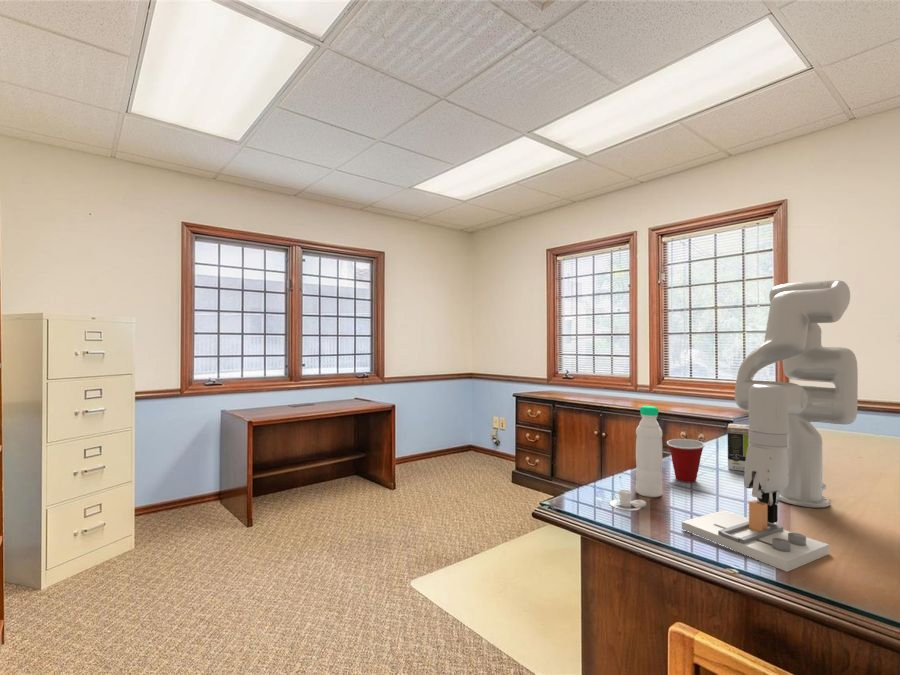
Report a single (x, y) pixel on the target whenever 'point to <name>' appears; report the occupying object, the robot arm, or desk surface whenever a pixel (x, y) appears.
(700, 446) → the plastic cup
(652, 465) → the water bottle
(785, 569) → the console
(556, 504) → the desk surface
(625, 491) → the white ring with post
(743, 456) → the tea box
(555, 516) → the desk surface
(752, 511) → the block
